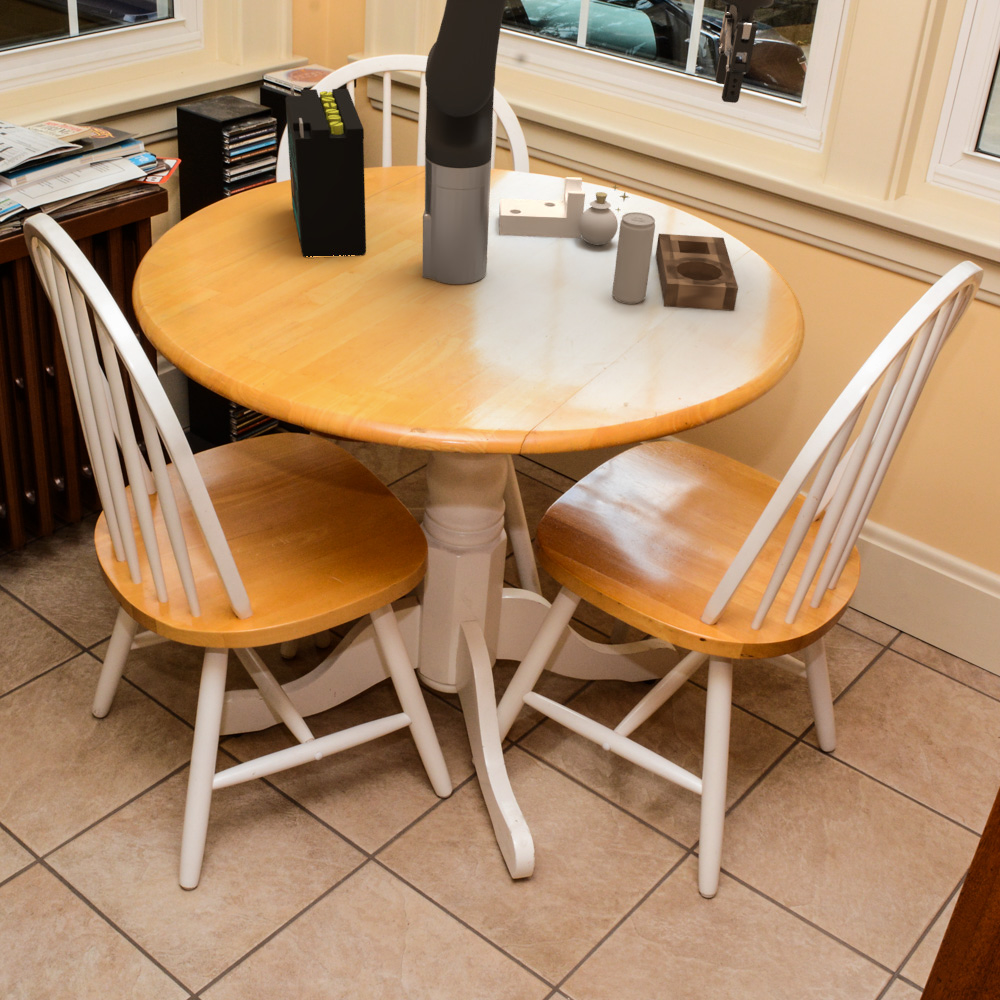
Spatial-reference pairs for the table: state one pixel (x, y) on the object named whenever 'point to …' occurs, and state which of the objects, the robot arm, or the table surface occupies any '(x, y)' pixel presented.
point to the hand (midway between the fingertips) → (726, 92)
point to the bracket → (544, 214)
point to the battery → (327, 172)
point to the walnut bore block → (695, 272)
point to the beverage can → (633, 257)
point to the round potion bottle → (599, 221)
